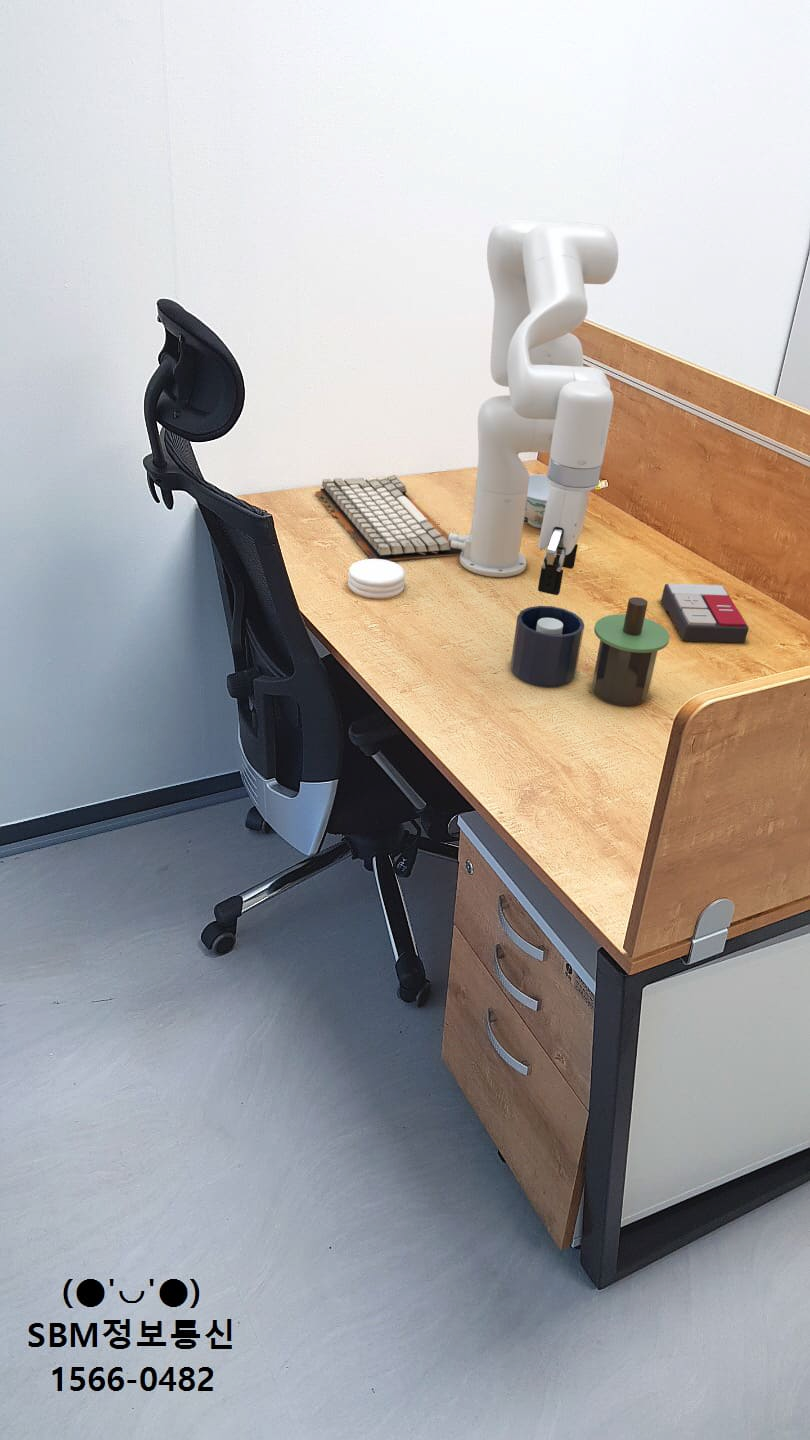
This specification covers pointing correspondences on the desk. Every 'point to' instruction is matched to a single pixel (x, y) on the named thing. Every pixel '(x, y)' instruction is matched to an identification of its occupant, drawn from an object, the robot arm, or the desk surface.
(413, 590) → the desk surface
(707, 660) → the desk surface
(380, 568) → the white round stack
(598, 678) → the cup
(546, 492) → the chinaware
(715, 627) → the calculator
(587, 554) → the desk surface
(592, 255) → the robot arm
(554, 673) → the tin
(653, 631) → the lid
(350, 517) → the mechanical keyboard
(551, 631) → the pill bottle
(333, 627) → the desk surface
